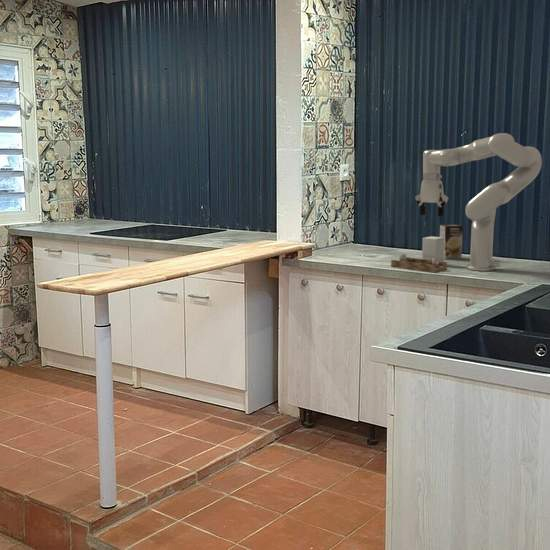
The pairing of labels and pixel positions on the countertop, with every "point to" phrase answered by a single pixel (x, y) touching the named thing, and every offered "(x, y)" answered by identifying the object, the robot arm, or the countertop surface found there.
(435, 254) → the supplement box
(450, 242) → the coffee box
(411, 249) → the countertop surface
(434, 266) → the brown textured block
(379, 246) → the countertop surface
